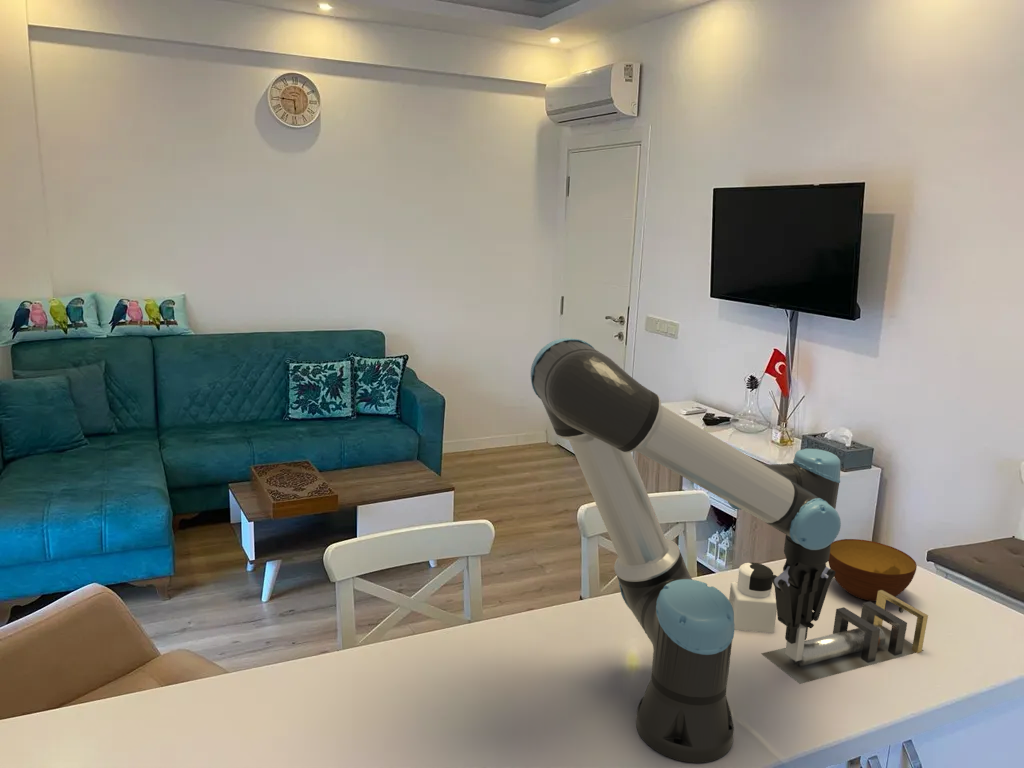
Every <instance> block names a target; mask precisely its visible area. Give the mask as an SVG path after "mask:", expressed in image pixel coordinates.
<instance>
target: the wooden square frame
mask: <svg viewBox="0 0 1024 768" xmlns="http://www.w3.org/2000/svg"><path fill="white" fill-rule="evenodd" d="M887 601H888V602H890V603H892V604H893V605H894V606H897V607H898V612H899V613H900V614H902V613H904V611H906V612H908V613H909V614H911V615H913V616H915V617H916V624H915V630H914V635H913V640H912V641H913V642H912V644H913V646H912V651H914V652H916V653H915V654H920V653H922V652H923V651H922V650H923V647H924V643H925V642H924V640H925V634H926V630H927V623H928V618H929V617H928V616H929V615H928V614H927V613H925V612H923V611H921V610H920V609H918V608H916V607H914V606H912V605H910V604H908V603H906V602H905V601H903V600H901V599H899V598H898V597H897V596H896V597H894V596H892V595H891V594H889V593H887V592H885V591H883V590H880V591H878V594H877V600H876V601H875V604H876V605H877V606H879V607H881V608H883V609H884V610H886V609H885V608H886V603H887ZM883 621H884V620H882V619H880V618H879V617H877V616H875V618H874V624H875V625H878V626H879V627H880V628H882V626H883Z"/></svg>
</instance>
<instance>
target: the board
mask: <svg viewBox="0 0 1024 768" xmlns="http://www.w3.org/2000/svg"><path fill="white" fill-rule="evenodd" d="M881 629H882V630H883V631H884V634H885V638H886V640H885V643H884V644H883V645H882V646H878V647H877V653H876V659H875V661H873V662H869V663H867V662H865V661H864V660H862V659H861V654H862V651H859V652H855V653H851V654H847V655H843V656H839V657H835V658H831V659H828V660H824V661H820V662H816V663H812V664H808V665H804V666H797V665H795V664H794V663H793V662H792V660H791V658H790V657H789V656H788V655H787V654H785V651H786V647H783V648H779V649H774V650H771V651H766V652H761V653H760V654H761V655H762V656H763V657H765V658H766V659H767V660H769V662H771V663H772V664H774V665H775V666H776V667H778V668H779V669H780V670H781V671H782V672H784V673H785V674H787V676H789V677H790V678H791V679H793V680H794V681H796V682H797V683H798V684H799V685H803V684H805V683H810V682H813V681H816V680H820V679H821V680H822V679H824V678H828V677H832V676H835V675H838V674H842V673H847V672H850V671H853V670H858V669H861V668H865V667H869V666H873V665H876V664H879V663H883V662H887V661H892V660H895V659H899V658H903V657H906V656H909V655H913V654H917V653H916V652H914V651H912V646H913V642H910V641H909V640H907V639H906V638H905V639H904V645H903V651H902V654H899V655H895V656H894V655H893V654H891V653H890V652H888V647H889V641H890V635H891V629H889V628H887V627H885V626H884V625H882V628H881ZM922 652H924V650H923V649H922Z"/></svg>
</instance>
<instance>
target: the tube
mask: <svg viewBox="0 0 1024 768" xmlns="http://www.w3.org/2000/svg"><path fill="white" fill-rule="evenodd" d="M873 625H874V626H876V627H877V628H879V629H880V634H879V640H878V646H882V645H883V644H884V643H885V640H886V638H885V634H884V631H883V630H882V629H881V628H880V627H879V626H878V625H875V624H873ZM864 635H865V632H864V631H863V630H861V629H859V628H858V627H855V628H852V629H847V631H844V632H840V633H835V634H833V633H832V634H828V635H824V636H820V637H815V638H811V639H808V640H807V639H806V640H805V641H804V649H803V656H802V660H800V661H795V660H793V659H792V658H791V657H790V658H791V660H792V662H793V663H794V664H795V665H797V666H804V665H808V664H812V663H816V662H820V661H824V660H828V659H831V658H835V657H839V656H843V655H847V654H851V653H855V652H859V651H862V648H863V641H864Z"/></svg>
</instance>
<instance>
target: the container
mask: <svg viewBox="0 0 1024 768" xmlns="http://www.w3.org/2000/svg"><path fill="white" fill-rule="evenodd" d="M773 575H774V571H773V570H772V569H771V568H770V567H768V566H767V565H765V564H762V563H759V562H745V563H743V564H741V565H740V566H739V568H738V575H737V576H738V577H737V581H731V582H730V588H729V598H728V600H729V601H730V603H731V605H732V607H733V611H734V625H735V626H734V631H743V632H755V633H766V634H774V633H775V628H776V620H777V619H776V618H777V606H776V596H775V594H774V593H773V590H772V589H773V583H772V581H771V577H772V576H773Z"/></svg>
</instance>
